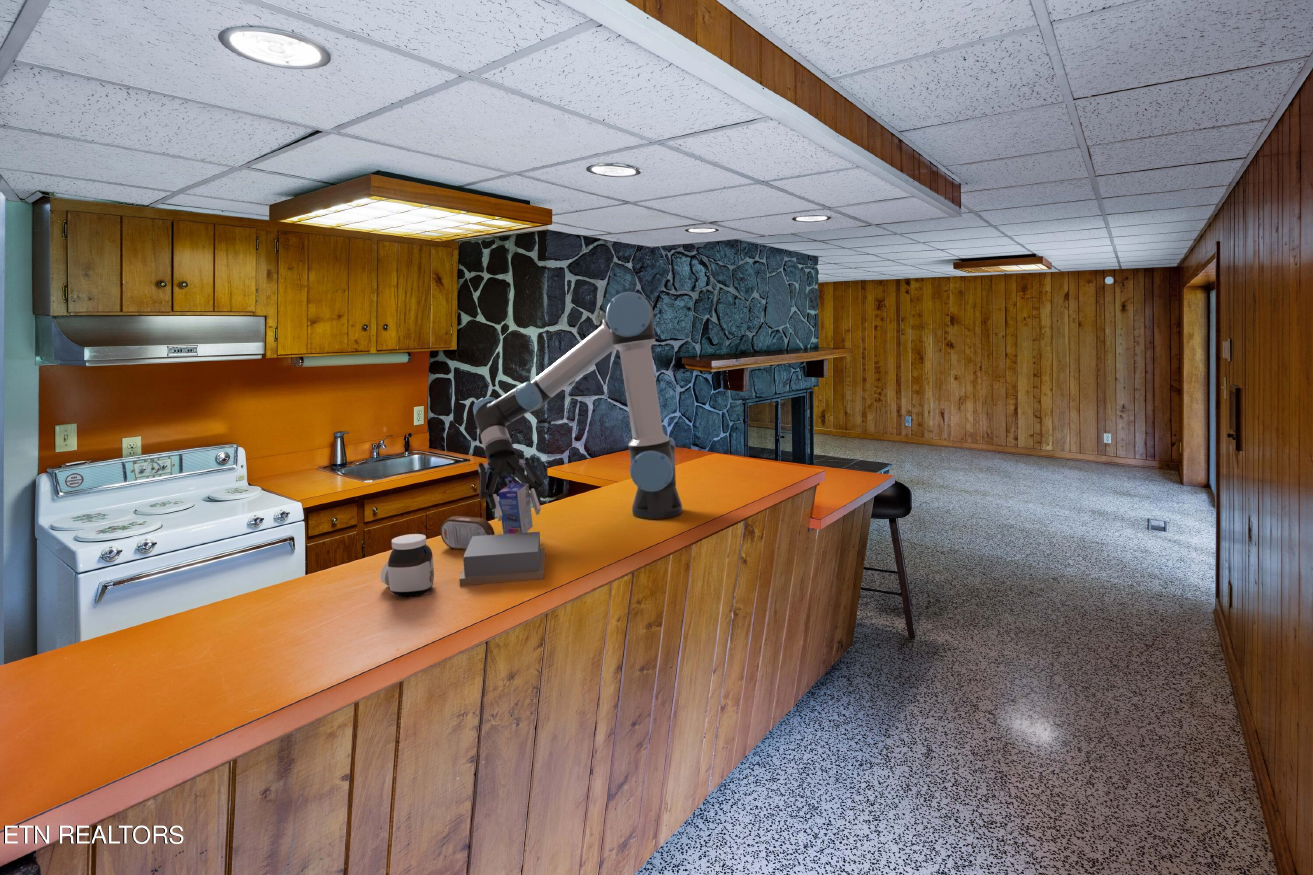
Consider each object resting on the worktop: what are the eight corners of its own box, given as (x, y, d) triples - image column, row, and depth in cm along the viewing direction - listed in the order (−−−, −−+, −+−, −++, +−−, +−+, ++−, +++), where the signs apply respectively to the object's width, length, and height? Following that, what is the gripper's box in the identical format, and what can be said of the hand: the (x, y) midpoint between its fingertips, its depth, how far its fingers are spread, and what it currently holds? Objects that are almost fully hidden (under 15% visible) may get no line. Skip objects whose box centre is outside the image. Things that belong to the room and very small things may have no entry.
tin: (496, 549, 167) (494, 517, 166) (489, 553, 164) (487, 520, 163) (447, 545, 172) (444, 514, 171) (439, 549, 169) (437, 517, 168)
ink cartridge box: (513, 527, 176) (509, 474, 174) (533, 526, 176) (529, 473, 174) (501, 538, 167) (496, 482, 164) (522, 537, 166) (518, 481, 164)
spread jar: (421, 600, 135) (417, 545, 133) (367, 601, 135) (362, 546, 134) (443, 579, 147) (439, 529, 145) (393, 580, 147) (388, 529, 145)
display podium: (545, 553, 163) (543, 530, 162) (543, 578, 145) (542, 552, 144) (470, 559, 160) (468, 535, 159) (459, 585, 142) (457, 558, 142)
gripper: (534, 450, 187) (557, 515, 175) (455, 459, 177) (474, 530, 165) (539, 433, 182) (563, 500, 170) (458, 442, 171) (478, 513, 160)
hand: (519, 514), depth 168 cm, fingers closed on ink cartridge box, 9 cm apart
